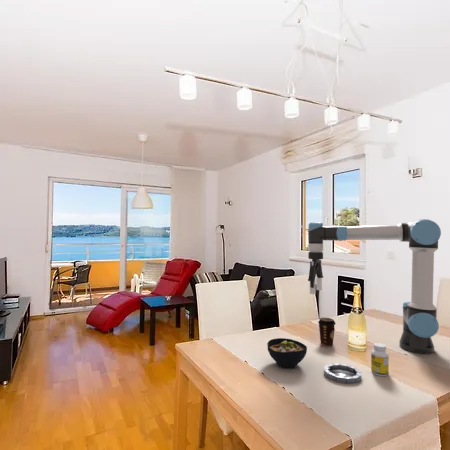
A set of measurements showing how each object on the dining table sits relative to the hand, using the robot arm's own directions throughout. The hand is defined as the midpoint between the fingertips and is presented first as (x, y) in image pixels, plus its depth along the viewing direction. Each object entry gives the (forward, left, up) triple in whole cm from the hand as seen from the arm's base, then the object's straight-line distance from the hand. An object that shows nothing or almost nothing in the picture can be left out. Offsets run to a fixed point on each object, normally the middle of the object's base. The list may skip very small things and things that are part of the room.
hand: (316, 291), depth 167 cm
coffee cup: (-5, -2, -27) cm, 28 cm away
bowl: (+8, +33, -27) cm, 44 cm away
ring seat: (-15, +34, -27) cm, 46 cm away
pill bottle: (-29, +25, -27) cm, 47 cm away
